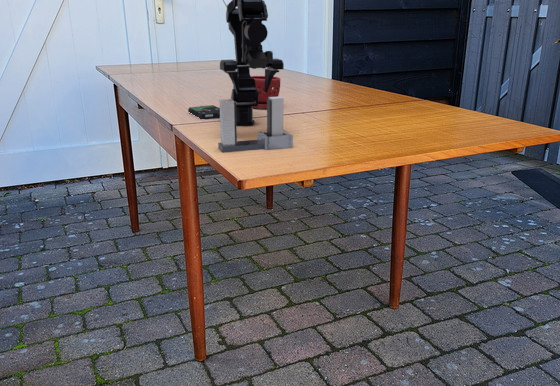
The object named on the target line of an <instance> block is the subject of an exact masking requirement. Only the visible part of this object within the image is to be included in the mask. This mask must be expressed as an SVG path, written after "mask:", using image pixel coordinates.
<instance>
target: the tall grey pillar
mask: <svg viewBox="0 0 560 386" xmlns="http://www.w3.org/2000/svg"><path fill="white" fill-rule="evenodd" d="M283 130H284V97H281V96H280V95H278V97H269V99H267V109H266V131H267V136H281V135H283Z"/></svg>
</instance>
